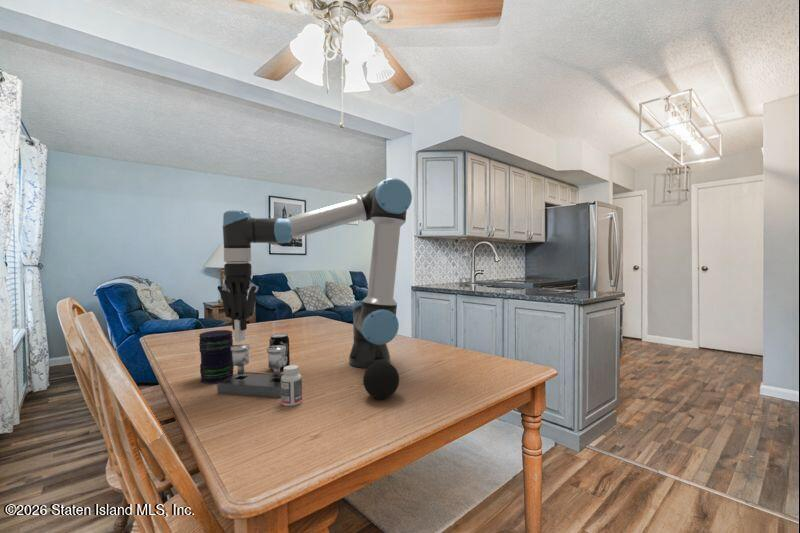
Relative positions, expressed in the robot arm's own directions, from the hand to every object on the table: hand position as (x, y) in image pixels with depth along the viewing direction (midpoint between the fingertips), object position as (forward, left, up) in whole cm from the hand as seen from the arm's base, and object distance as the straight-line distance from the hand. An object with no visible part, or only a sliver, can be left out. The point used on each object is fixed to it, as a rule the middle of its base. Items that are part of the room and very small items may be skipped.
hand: (239, 340), depth 114 cm
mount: (-6, 0, -14) cm, 16 cm away
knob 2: (-12, 0, -10) cm, 16 cm away
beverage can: (-2, -19, -15) cm, 24 cm away
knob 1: (0, 0, -10) cm, 10 cm away
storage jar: (+13, -6, -15) cm, 20 cm away
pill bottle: (-21, +8, -15) cm, 27 cm away
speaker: (-44, 0, -15) cm, 46 cm away
